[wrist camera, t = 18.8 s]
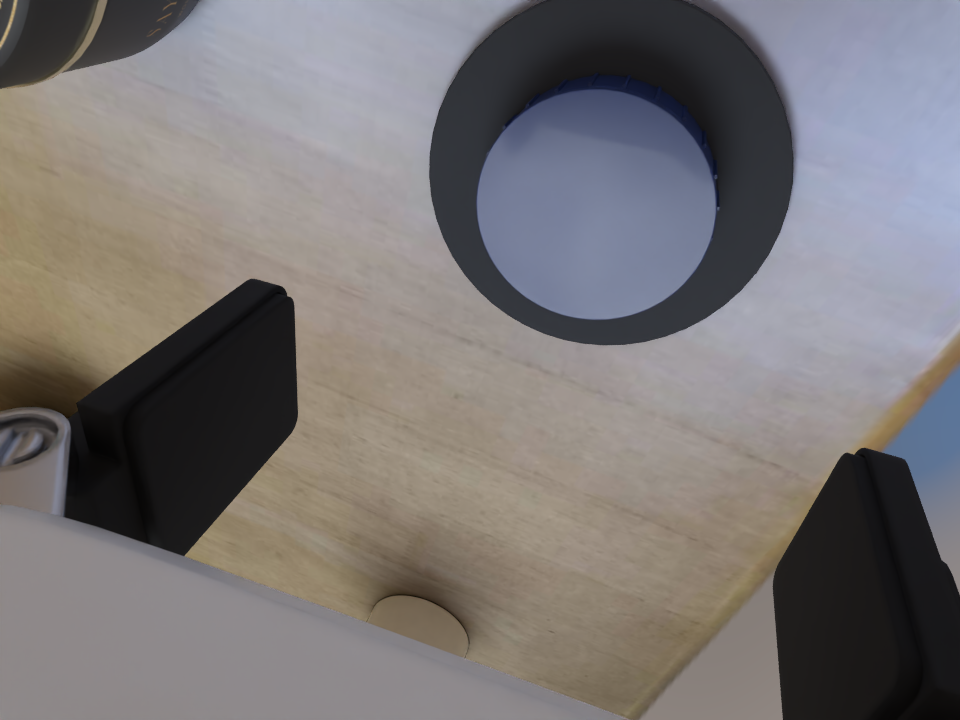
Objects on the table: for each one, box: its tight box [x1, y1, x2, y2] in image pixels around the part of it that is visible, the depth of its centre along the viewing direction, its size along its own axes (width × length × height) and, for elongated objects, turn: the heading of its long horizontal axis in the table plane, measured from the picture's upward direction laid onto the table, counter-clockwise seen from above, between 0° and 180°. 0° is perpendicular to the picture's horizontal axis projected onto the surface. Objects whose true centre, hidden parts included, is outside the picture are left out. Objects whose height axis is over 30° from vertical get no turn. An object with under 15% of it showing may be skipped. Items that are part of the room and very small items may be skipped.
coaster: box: [429, 0, 794, 345], centre depth 21 cm, size 11×11×1 cm
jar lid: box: [476, 73, 720, 320], centre depth 20 cm, size 7×7×2 cm
